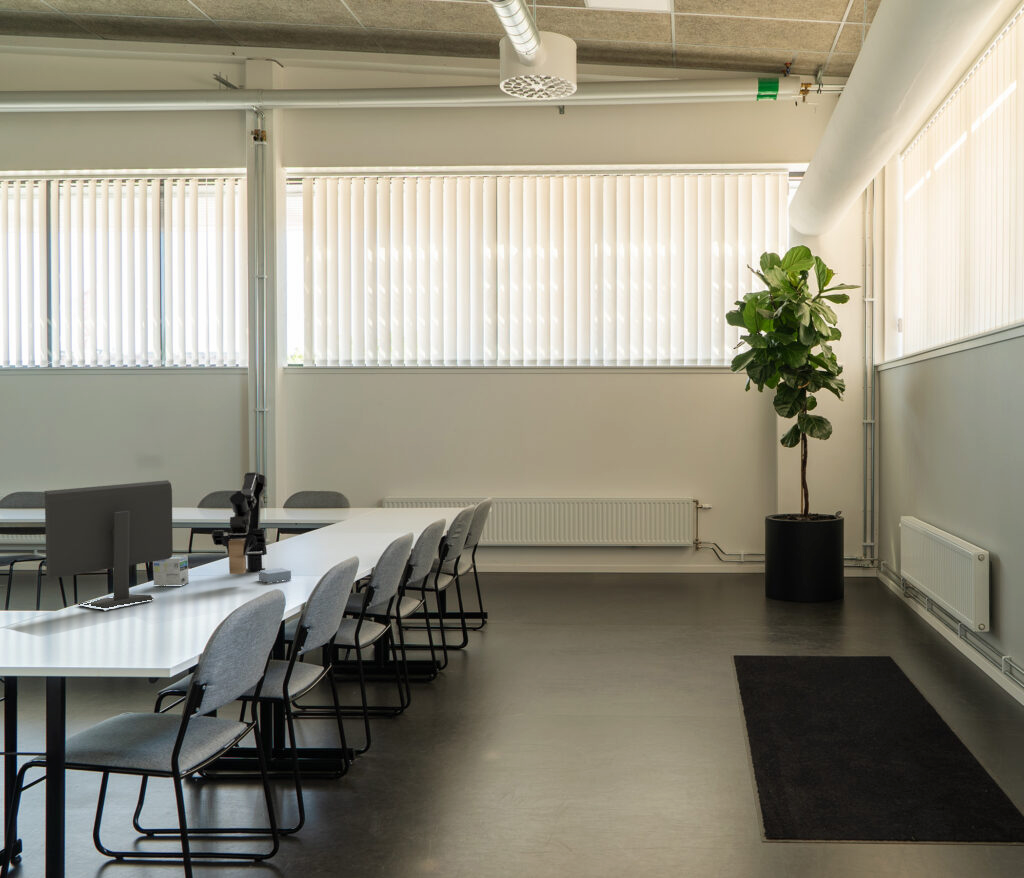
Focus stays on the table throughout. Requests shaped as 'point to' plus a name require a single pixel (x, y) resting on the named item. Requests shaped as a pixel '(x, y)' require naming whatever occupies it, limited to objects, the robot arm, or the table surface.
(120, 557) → the computer monitor
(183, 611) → the table surface
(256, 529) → the robot arm
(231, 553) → the walnut pillar
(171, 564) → the light bulb box
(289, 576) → the slate-blue block
